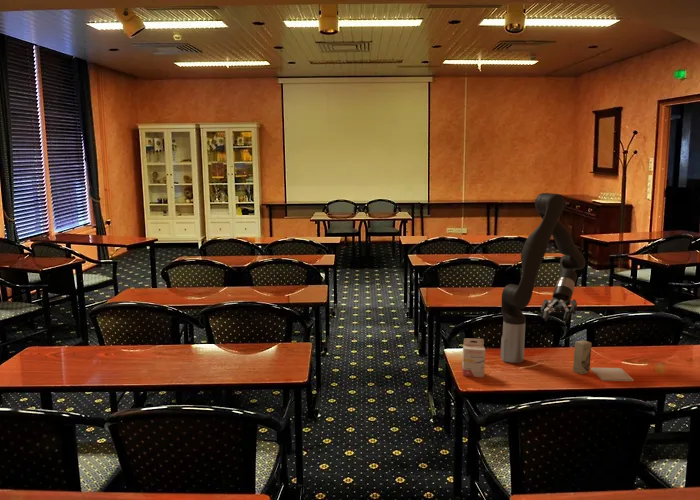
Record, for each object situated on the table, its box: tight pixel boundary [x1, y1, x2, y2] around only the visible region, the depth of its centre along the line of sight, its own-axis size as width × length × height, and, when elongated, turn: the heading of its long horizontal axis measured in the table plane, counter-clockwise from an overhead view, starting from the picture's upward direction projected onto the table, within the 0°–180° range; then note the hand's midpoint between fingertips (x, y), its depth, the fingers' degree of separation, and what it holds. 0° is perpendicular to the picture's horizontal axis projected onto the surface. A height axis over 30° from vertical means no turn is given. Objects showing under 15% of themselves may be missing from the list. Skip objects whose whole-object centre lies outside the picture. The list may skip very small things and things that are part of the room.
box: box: [572, 339, 592, 375], centre depth 228 cm, size 5×4×13 cm
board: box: [590, 367, 634, 382], centre depth 226 cm, size 12×12×1 cm
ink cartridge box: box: [461, 337, 486, 378], centre depth 226 cm, size 9×5×15 cm, turn 84°
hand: (554, 320), depth 234 cm, fingers open, 8 cm apart
